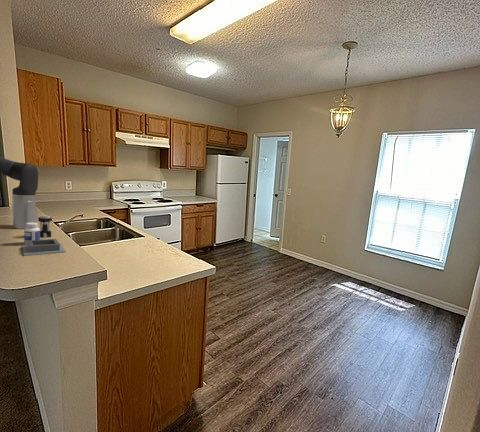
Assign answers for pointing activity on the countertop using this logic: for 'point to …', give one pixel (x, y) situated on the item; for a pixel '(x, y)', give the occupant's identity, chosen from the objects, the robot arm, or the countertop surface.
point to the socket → (42, 247)
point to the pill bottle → (31, 232)
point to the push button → (45, 226)
